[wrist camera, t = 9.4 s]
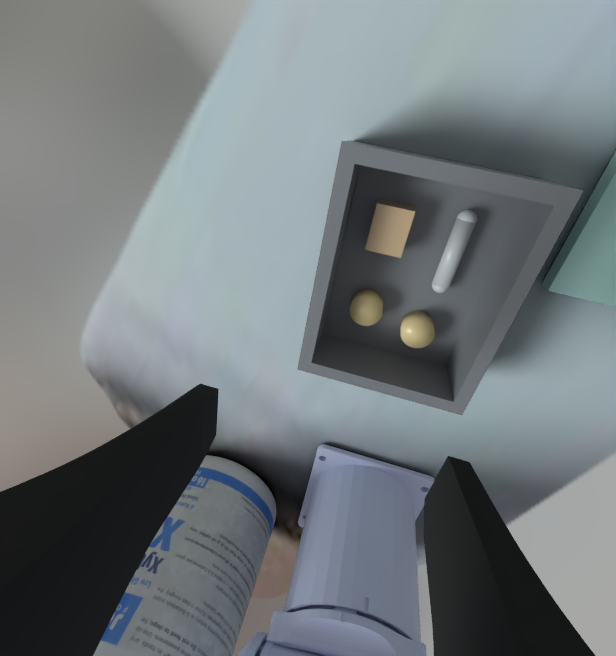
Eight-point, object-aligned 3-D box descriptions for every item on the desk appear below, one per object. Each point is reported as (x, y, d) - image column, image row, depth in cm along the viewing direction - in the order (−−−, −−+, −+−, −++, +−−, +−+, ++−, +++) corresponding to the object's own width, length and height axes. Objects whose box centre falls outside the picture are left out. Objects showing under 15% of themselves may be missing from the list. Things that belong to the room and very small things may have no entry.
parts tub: (451, 372, 19) (462, 415, 16) (312, 334, 20) (297, 369, 17) (543, 179, 14) (583, 190, 11) (352, 140, 15) (341, 141, 12)
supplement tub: (203, 429, 26) (22, 702, 14) (303, 498, 27) (223, 806, 15) (156, 484, 31) (-9, 722, 18) (243, 540, 32) (144, 800, 20)
